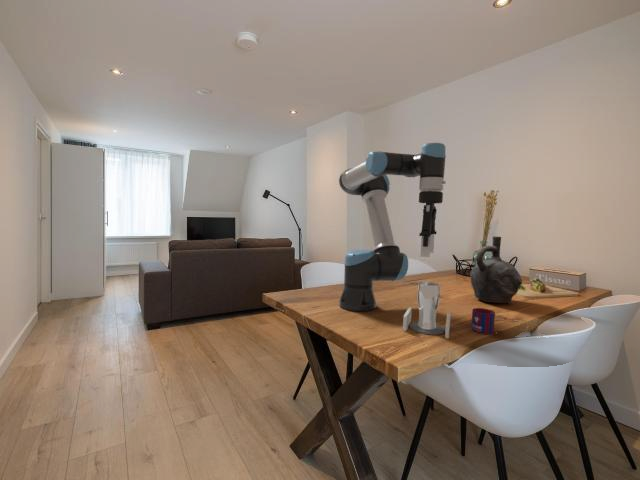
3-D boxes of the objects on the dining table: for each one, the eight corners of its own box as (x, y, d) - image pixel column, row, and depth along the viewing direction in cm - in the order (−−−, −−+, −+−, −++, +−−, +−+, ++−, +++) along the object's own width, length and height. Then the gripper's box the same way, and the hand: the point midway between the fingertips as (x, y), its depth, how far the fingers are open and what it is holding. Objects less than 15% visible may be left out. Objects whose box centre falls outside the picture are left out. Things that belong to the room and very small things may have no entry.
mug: (466, 328, 109) (468, 309, 108) (485, 325, 113) (487, 306, 113) (484, 335, 103) (486, 314, 102) (504, 331, 108) (505, 311, 107)
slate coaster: (407, 331, 105) (407, 329, 105) (412, 321, 115) (412, 320, 115) (443, 337, 100) (443, 335, 100) (445, 326, 110) (445, 325, 110)
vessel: (513, 312, 130) (518, 239, 128) (458, 301, 145) (461, 235, 143) (526, 301, 148) (530, 237, 146) (475, 293, 163) (479, 234, 161)
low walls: (402, 331, 105) (403, 316, 105) (408, 320, 116) (408, 307, 116) (448, 338, 99) (449, 322, 99) (449, 326, 110) (450, 312, 110)
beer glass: (435, 332, 103) (437, 286, 102) (413, 328, 107) (415, 283, 105) (440, 326, 109) (442, 283, 107) (419, 322, 112) (421, 280, 111)
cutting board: (528, 299, 155) (529, 284, 154) (490, 289, 177) (490, 275, 177) (581, 296, 164) (582, 282, 164) (538, 287, 187) (539, 274, 186)
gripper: (440, 188, 94) (436, 259, 95) (445, 193, 116) (441, 251, 118) (414, 188, 97) (410, 257, 99) (423, 193, 119) (420, 250, 121)
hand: (427, 254), depth 108 cm, fingers open, 13 cm apart
